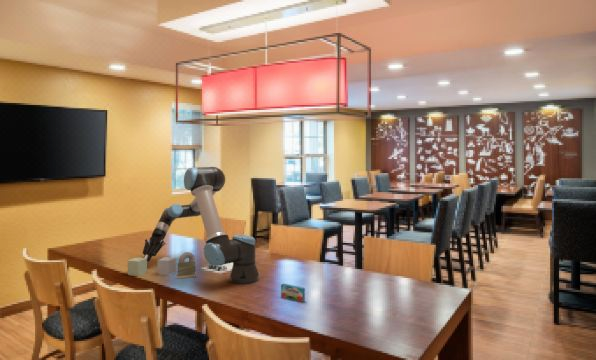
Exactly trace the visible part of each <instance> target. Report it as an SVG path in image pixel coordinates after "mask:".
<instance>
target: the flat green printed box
mask: <svg viewBox="0 0 596 360" xmlns="http://www.w3.org/2000/svg"><path fill="white" fill-rule="evenodd" d="M305 290H306V287H301V286H298V285H294V284H293V285H292V284H288V283H281V284H280V297H281V298H282V297H283V299H286V300H292V301H295V300H296V302H299V301H300V303H304V302H305V299H306V293H305Z"/></svg>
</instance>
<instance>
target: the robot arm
mask: <svg viewBox="0 0 596 360" xmlns="http://www.w3.org/2000/svg"><path fill="white" fill-rule="evenodd" d="M225 183H226V175H225V173H224V171H223V170H221V168H218V167H216V166H200V167H197V166H195V167H188V168H187V169H186V171H185V172H184V176H183V186H184V188H185V189H186V190H187V191H190V195H192V196H193V197H194V198H193V200H192V201H191V202H190V203H189V204H183V205H182V204H179V203H173V204H172V205H170V206H169V207H166V208H165V209H164V210H163V211H162V213H161V216H160V217H159V220H158V222H157V223H156V225H155V228H154V229H153V231H152V233H151V236H150V237H149V239H145V240H144V246H143V250H142V255H143V257H142V258H147V264H148V262H150V261H151V259H152V258H153V257H156V256H157V254H158V253H159V251H160V250H161V249H162V248H163V247H164V246H165V244H166V242H165V241H164V240H165V238H166V235H167V233H168V231H169V230H170V228H171V225H172V224H173V222H174V221H175V220H176V219H181V218H182V219H183V218H184V219H185V218H191V217H199V216H200V217H201V220H202V224H203V227H204V230H205V231H204V232H205V233H206V236H207V238H206V241H205V244H204V246H203V255H204V258H205V260H206V262H207V263H208V264H209V265H211V266H212V267H219V266H224V265H228V264H232V268H231V271H230V275H229V281H230V282H231V283H234V284H239V285H240V284H241V285H242V284H252V283H255V282H257V281H259V279H260V274H259V271H258V267H257V264H256V239H255V238H254V237H253V236H252V235H245V234H244V235H242V234H235V235H232V238H231V239H230V237H229V235H228V234H227V233H225V231H224V229H223V225H222V222H221V219H220V215H219V211H218V208H217V205H216V202H215V199H214V196H215V195H216V193H218V192H220V191H221V190H222V188H224V186H225Z"/></svg>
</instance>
